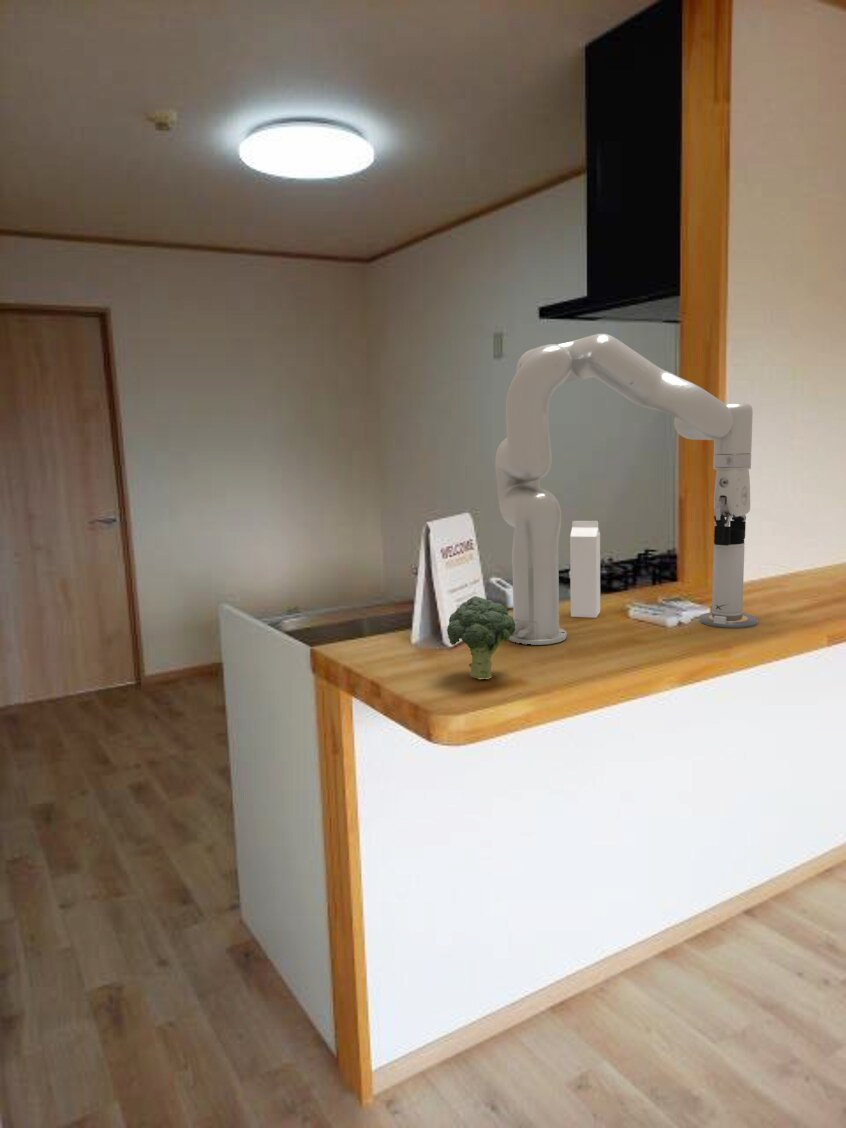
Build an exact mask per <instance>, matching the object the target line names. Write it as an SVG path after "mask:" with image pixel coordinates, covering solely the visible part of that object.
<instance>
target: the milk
mask: <svg viewBox="0 0 846 1128" xmlns="http://www.w3.org/2000/svg"><path fill="white" fill-rule="evenodd" d="M569 544H570V545H569V546H570V547H569V554H570V555H569V558H570V559H569V560H570V561H569V565H570V567H569V569H570V570H569V571H570V574H569V575H570V578H569V580H570V582H569V584H570V588H569V589H570V617H571V618H591V619H592V618H595V619H597V618H598V616H599V614H600V613H601V532H600V528H599V522H598V520H572V521H571V530H570V535H569Z"/></svg>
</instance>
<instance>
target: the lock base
mask: <svg viewBox="0 0 846 1128" xmlns="http://www.w3.org/2000/svg"><path fill="white" fill-rule="evenodd" d="M726 618H727V617H723V616H714V618H713V617H712V611H711V612H705V613H702V614H701V615H699V622H700V623H701V624H703V625H706V626H708V627H714V628H723V629H745V628H751V627H755V626H757V625H758V621H759V620H758V619H759V618H758V617H756V616H755V615H753V614H748V613H743V610H742V619H740V620H737V621H726ZM756 624H757V625H756Z"/></svg>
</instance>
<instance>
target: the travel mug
mask: <svg viewBox="0 0 846 1128" xmlns="http://www.w3.org/2000/svg"><path fill="white" fill-rule="evenodd" d="M744 534H745V535H746V529H745V530H739V529H731V530H730V545H728V546H726V545H715V544H714V543H713V551H712V552H713V559H712V560H713V561H712V562H713V563H712V601H711V605H712V606H711V608H712V610H711V612H712V617H713V618H714V616H723V617H727V618H726V621H737V620H740V619H742V613H743V612H742V610H743V604H744V573H745V539H744Z"/></svg>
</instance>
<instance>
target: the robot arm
mask: <svg viewBox="0 0 846 1128" xmlns="http://www.w3.org/2000/svg"><path fill="white" fill-rule="evenodd" d="M515 369H516V373H515V375H514V376H513V379H512V381H511V382H510V385H509V388H508V391H507V395H506V399H505V400H506V401H505V421H506V422H505V423H506V425H505V426H506V437H505V438H504V439H503V440H502V441H501V442H500V443H499V445H498V447H497V449H496V454H495V458H494V459H495V462H494V463H495V464H494V465H495V477H496V488H497V496H498V497H497V498H498V506H499V510H500V513H501V517H502V519H503V520H504V521H505V522H506V523H507V524H508V525H509V526H510V527H512V528H514V529H513V539H512V546H511V547H512V548H511V553H512V554H511V567H512V604H513V605H512V607H513V608H512V610H513V611H512V612H513V613H512V614H513V615H512V617H513V619H514V623H515V628H516V629H515V631H514V633H513V635H511V636H510V638H509V640H508V641H510V642H512V643H515V642H516V644H519V643H522V644H521V645H527V644H531V645H530V646H542V645H543V646H544V645H553V644H557V643H560V642H563V641H565V640H566V639H567V636H568V635H567V631H566V630H565V629H564V628H561V627H560V591H559V589H560V587H559V586H560V585H559V584H560V582H559V581H560V579H559V576H560V575H559V569H560V568H559V542H560V541H559V540H560V532H561V527H562V526H561V525H562V508H561V506H560V502H559V500H558V499H557V498H556V497H555V495H554V494H553V493H551V492H550V491H548V490H547V489H544V488H542V487H541V482H540V481H541V479H542V478H544V477H546V476H547V475H548V474H549V471H550V470H551V467H552V462H553V461H552V460H553V459H552V458H553V457H552V447H551V446H552V445H551V437H550V436H551V435H550V426H549V425H550V424H549V423H550V421H549V408H550V406H549V405H550V401H551V399H552V396H553V394H554V392H555V390H556V389H558V387H559V386H562V385H566V384H571V383H574V382H579V381H583V380H587V379H590V378H595V379H597V380H598V381H600V382H601V383H603V384H604V385H607V386H608V387H609V388H610V389H612V390H614V391H615V392H617V393H618V394H620V395H622V397H624V398H626V399H627V400H628V401H630V402H632V403H633V404H636V405H638V406H640V407H642V408H646V409H650V410H655V411H658V412H662V413H665V414H668V415H670V416H673V417H674V420H673V426H674V429H675V431H676V432H677V434H678V435H679V436H681V437H682V438H684V439H687V440H692V441H693V440H695V441H696V440H699V441H713V466H712V467H713V470H715V471H716V473H715V483H714V491H713V492H714V494H713V514H714V515H713V519H714V523H713V527H714V530H713V532H714V533H713V536H714V537H713V538H714V539H713V545H714V544H715V545H726V546H728V545H730V530H731V529H739V530H745V531H746V525H747V524H746V523H747V522H746V521H747V516H746V515H747V514H749V512H750V511H751V481H750V480H751V479H750V470H751V469H752V447H753V446H752V443H753V442H752V441H753V440H752V439H753V438H752V437H753V412H754V411H753V408H752V406H751V404H749V403H745V402H737V403H736V402H734V403H733V402H732V403H724V402H723V401H722V400H721V399H719V398H717V397H716V396H714V395H713V394H711V393H710V392H708V391H707V390H705V389H704V388H702V387H701V386H700V385H697V384H695V383H693V382H691V381H689V380H687V379H684V378H682V377H679V376H678V375H676V374H674V373H673V372H670V371H667V370H665V369H663V368H661V367H660V366H657V365H656V364H655V363H654V362H652V361H650V360H649V359H647V358H646V357H644V356H643V355H641V354H640V353H638V352H637V351H635V350H634V349H633V348H630V347H629V346H628V345H626V344H625V343H623V342H622V341H621V340H619V339H618V338H616V337H614V336H613V335H610V334H608V333H596V334H591V335H589V336H588V335H587V336H585V337H583V338H582V337H581V338H579V339H574V340H571V341H566V342H563V343H558V344H553V343H549V344H545V345H541V346H538V347H535V348H534V347H533V348H532V349H529V350H527V351H526V352H524V353H523V354H522V355H521V356H520V358H519V359H518V361H517V364H516V368H515ZM745 539H746V533H745V534H744V540H745Z"/></svg>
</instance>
